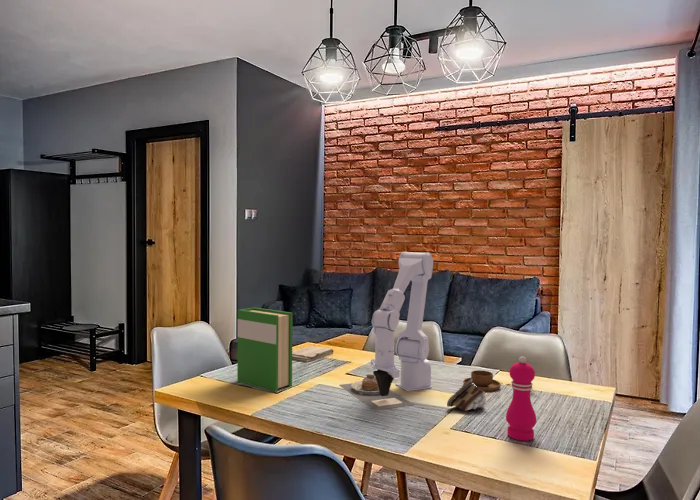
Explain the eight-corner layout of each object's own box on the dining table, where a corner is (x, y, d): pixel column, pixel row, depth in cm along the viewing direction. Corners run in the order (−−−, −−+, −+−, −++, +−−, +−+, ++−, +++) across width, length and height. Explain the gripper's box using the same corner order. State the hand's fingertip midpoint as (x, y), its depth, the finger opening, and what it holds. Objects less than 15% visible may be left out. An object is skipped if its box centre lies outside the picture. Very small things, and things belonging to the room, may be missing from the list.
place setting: (481, 378, 183) (481, 361, 183) (534, 391, 169) (535, 373, 168) (451, 388, 171) (451, 370, 171) (506, 403, 157) (507, 384, 156)
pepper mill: (501, 430, 134) (502, 353, 133) (528, 430, 134) (530, 352, 133) (512, 442, 126) (514, 360, 126) (541, 441, 127) (543, 359, 126)
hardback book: (291, 386, 169) (292, 312, 168) (275, 392, 163) (276, 315, 162) (253, 376, 179) (254, 307, 178) (237, 381, 173) (237, 309, 172)
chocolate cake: (465, 415, 143) (490, 382, 147) (445, 402, 148) (469, 371, 152) (471, 431, 149) (495, 399, 153) (452, 418, 154) (475, 387, 158)
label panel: (374, 381, 176) (374, 380, 176) (414, 405, 153) (414, 404, 153) (338, 385, 171) (338, 384, 171) (374, 411, 147) (374, 410, 147)
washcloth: (283, 359, 206) (284, 352, 205) (310, 350, 221) (310, 343, 221) (308, 364, 199) (308, 356, 199) (334, 354, 215) (334, 347, 215)
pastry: (345, 392, 163) (346, 378, 163) (358, 382, 174) (358, 368, 174) (382, 397, 159) (382, 382, 158) (393, 386, 170) (393, 372, 170)
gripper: (362, 346, 161) (361, 389, 161) (384, 356, 147) (383, 404, 148) (382, 344, 163) (381, 387, 164) (406, 354, 150) (405, 401, 151)
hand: (384, 395), depth 156 cm, fingers closed
